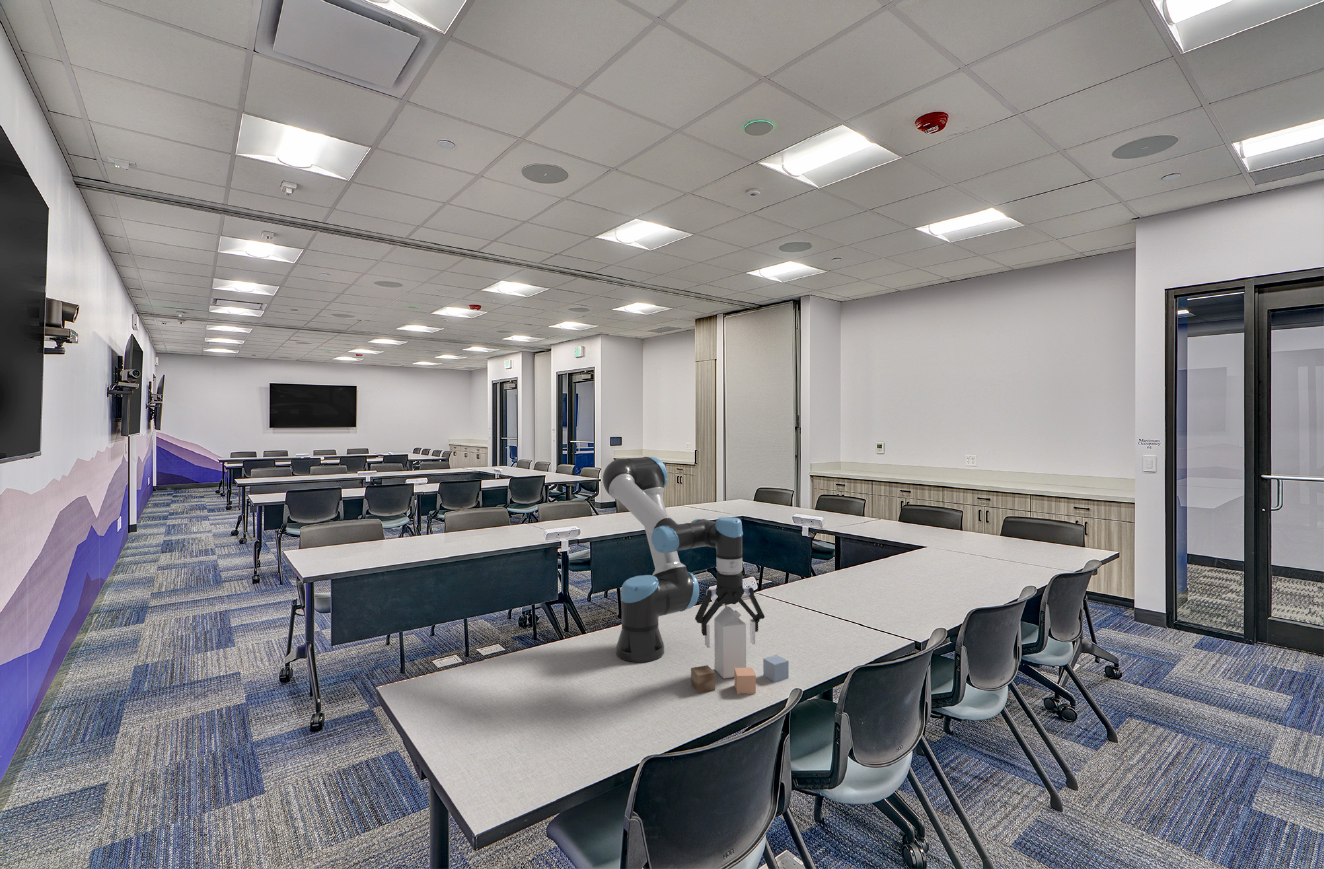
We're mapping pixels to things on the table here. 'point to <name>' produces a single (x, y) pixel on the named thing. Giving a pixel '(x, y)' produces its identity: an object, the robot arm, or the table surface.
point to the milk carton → (729, 642)
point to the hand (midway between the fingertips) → (730, 644)
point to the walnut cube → (703, 679)
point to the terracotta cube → (744, 680)
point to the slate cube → (775, 668)
